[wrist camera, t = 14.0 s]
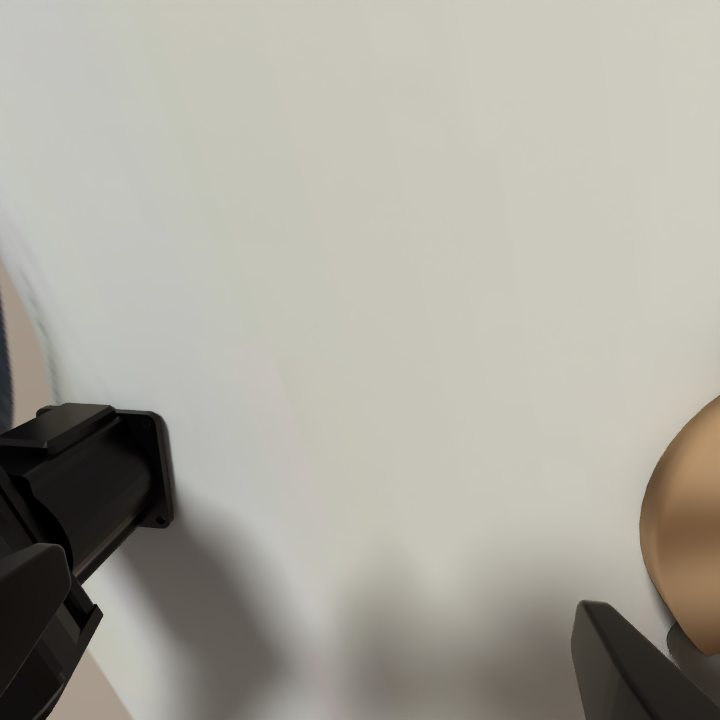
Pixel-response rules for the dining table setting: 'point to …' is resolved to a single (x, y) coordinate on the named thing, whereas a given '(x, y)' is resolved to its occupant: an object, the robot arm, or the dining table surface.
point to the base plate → (688, 545)
